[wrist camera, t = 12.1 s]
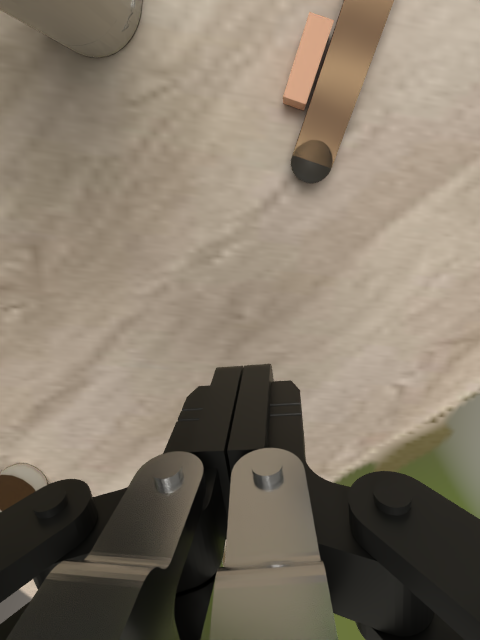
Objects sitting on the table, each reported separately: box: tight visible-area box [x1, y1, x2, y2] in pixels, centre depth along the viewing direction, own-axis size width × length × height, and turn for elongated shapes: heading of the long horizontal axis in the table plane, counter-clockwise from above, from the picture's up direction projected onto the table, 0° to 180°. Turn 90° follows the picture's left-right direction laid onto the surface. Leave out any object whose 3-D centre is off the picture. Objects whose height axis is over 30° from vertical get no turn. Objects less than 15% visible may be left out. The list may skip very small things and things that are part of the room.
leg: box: [291, 0, 394, 183], centre depth 32 cm, size 24×4×4 cm, turn 163°
